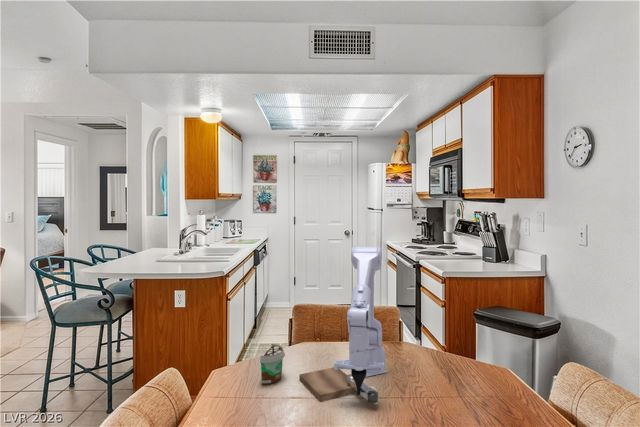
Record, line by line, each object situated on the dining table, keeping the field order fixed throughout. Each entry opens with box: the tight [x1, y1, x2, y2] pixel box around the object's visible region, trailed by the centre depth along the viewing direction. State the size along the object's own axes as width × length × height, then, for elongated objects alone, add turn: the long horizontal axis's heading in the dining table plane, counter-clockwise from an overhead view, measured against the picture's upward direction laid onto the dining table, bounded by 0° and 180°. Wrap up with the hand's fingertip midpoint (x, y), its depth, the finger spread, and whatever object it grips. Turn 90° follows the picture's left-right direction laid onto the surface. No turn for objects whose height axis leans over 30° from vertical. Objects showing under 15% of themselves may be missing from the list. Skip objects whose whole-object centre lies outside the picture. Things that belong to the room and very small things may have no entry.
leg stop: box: [368, 385, 379, 405], centre depth 122 cm, size 1×3×4 cm, turn 26°
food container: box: [259, 343, 286, 386], centre depth 137 cm, size 12×6×10 cm, turn 168°
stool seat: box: [298, 366, 357, 403], centre depth 133 cm, size 14×16×2 cm
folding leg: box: [347, 373, 379, 404], centre depth 124 cm, size 15×3×2 cm, turn 25°
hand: (358, 393), depth 121 cm, fingers closed, pressing on folding leg
